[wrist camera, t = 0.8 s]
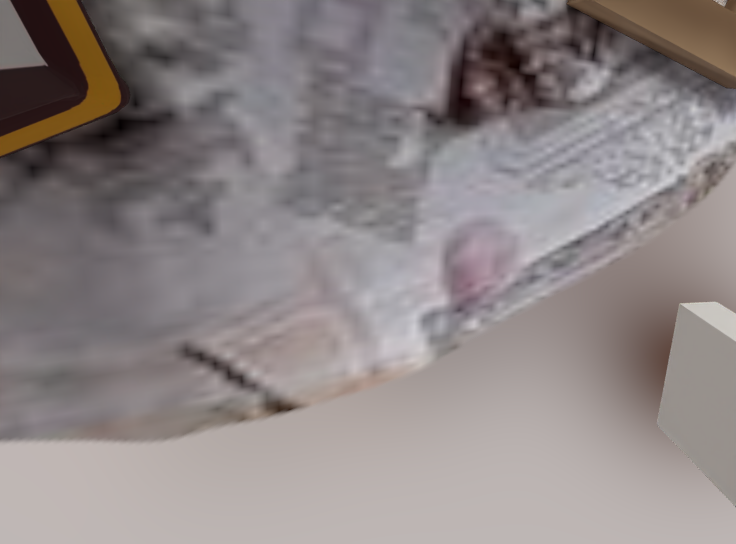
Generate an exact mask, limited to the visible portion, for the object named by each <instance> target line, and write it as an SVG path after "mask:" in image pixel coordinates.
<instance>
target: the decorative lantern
mask: <svg viewBox="0 0 736 544" xmlns="http://www.w3.org/2000/svg"><path fill="white" fill-rule="evenodd" d="M129 99H130V92H129V87H128V86H127V84H126V82H125V81H124V80H123V79H121V78H120V76H119V74H118V72H117V70H116V69H115V67H114V65H113V63H112V61H111V60H110V58H109V56H108V54H107V52H106V50H105V48H104V46H103V44H102V42H101V40H100V38H99V36H98V34H97V32H96V30H95V28H94V26H93V24H92V22H91V20H90V18H89V16H88V14H87V12H86V10H85V8H84V6H83V4H82V2H81V0H0V158H3V157H5V156H8V155H10V154H13V153H15V152H18V151H20V150H23V149H25V148H28V147H30V146H33V145H35V144H38V143H40V142H43V141H45V140H48V139H51V138H53V137H56V136H58V135H61V134H63V133H66V132H68V131H71V130H73V129H76V128H78V127H81V126H83V125H86V124H88V123H91V122H93V121H96V120H98V119H101V118H104V117H106V116H109V115H111V114H114V113H116V112H118V111H119V110H120V109H122V108H123V107H124V106H125V105H127V104H128V102H129Z"/></svg>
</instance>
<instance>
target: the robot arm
mask: <svg viewBox="0 0 736 544" xmlns="http://www.w3.org/2000/svg"><path fill="white" fill-rule="evenodd" d="M657 425H658V426H659V428H660V429H661V430H662V431H663V432H664V433H665V434H666V435H667V436H668V437H669V438H670V439H671V440H672V441H673V442H674V443H675V444H676V445H677V446H678V447H679V448H680V449H681V450H682V452H684V454H685V455H686V456H687V457H688V458H689V459H690V460H691V461H692V462H693V463H694V464H695V465H696V466H697V467H698V468H699V469H700V470H701V471H702V472H703V473H704V474H705V476H706V477H707V478H708V479H709V480H710V481H711V482H712V483H713V484H714V485H715V486H716V487H717V488H718V489H719V490H720V491H721V492H722V493H723V494H724V495H725V496H726V498H728V500H729V501H730V502H731V503H732V504H733V505H734V506H735V507H736V314H735V313H734V312H732V311H731V310H729V309H727V308H726V307H724V306H722V305H721V304H719V303H717V302H701V303H680V304H679V309H678V314H677V320H676V325H675V330H674V335H673V341H672V347H671V351H670V357H669V362H668V367H667V373H666V378H665V383H664V389H663V395H662V399H661V405H660V410H659V415H658V421H657Z"/></svg>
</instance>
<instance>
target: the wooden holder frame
mask: <svg viewBox="0 0 736 544" xmlns="http://www.w3.org/2000/svg"><path fill="white" fill-rule="evenodd" d="M567 5H569V6H571V7H573V8H575V9H577V10H579V11H581V12H583V13H585V14H587V15H588V16H590V17H592V18H594V19H596V20H598V21H600V22H602V23H604V24H606V25H608V26H609V27H611V28H613V29H615V30H617V31H619V32H621V33H623V34H625V35H627V36H628V37H630V38H632V39H634V40H636V41H638V42H640V43H642V44H644V45H646V46H648V47H649V48H651V49H653V50H655V51H657V52H659V53H661V54H663V55H665V56H667V57H668V58H670V59H672V60H674V61H676V62H678V63H680V64H682V65H684V66H686V67H688V68H689V69H691V70H693V71H695V72H697V73H699V74H701V75H703V76H705V77H707V78H708V79H710V80H712V81H714V82H716V83H718V84H720V85H722V86H724V87H726V88H733V89H736V0H728V1H727V3H726V6H725V7H723V6H722V5H720V4H718V3H717V2H715V1H713V0H568V2H567Z"/></svg>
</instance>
